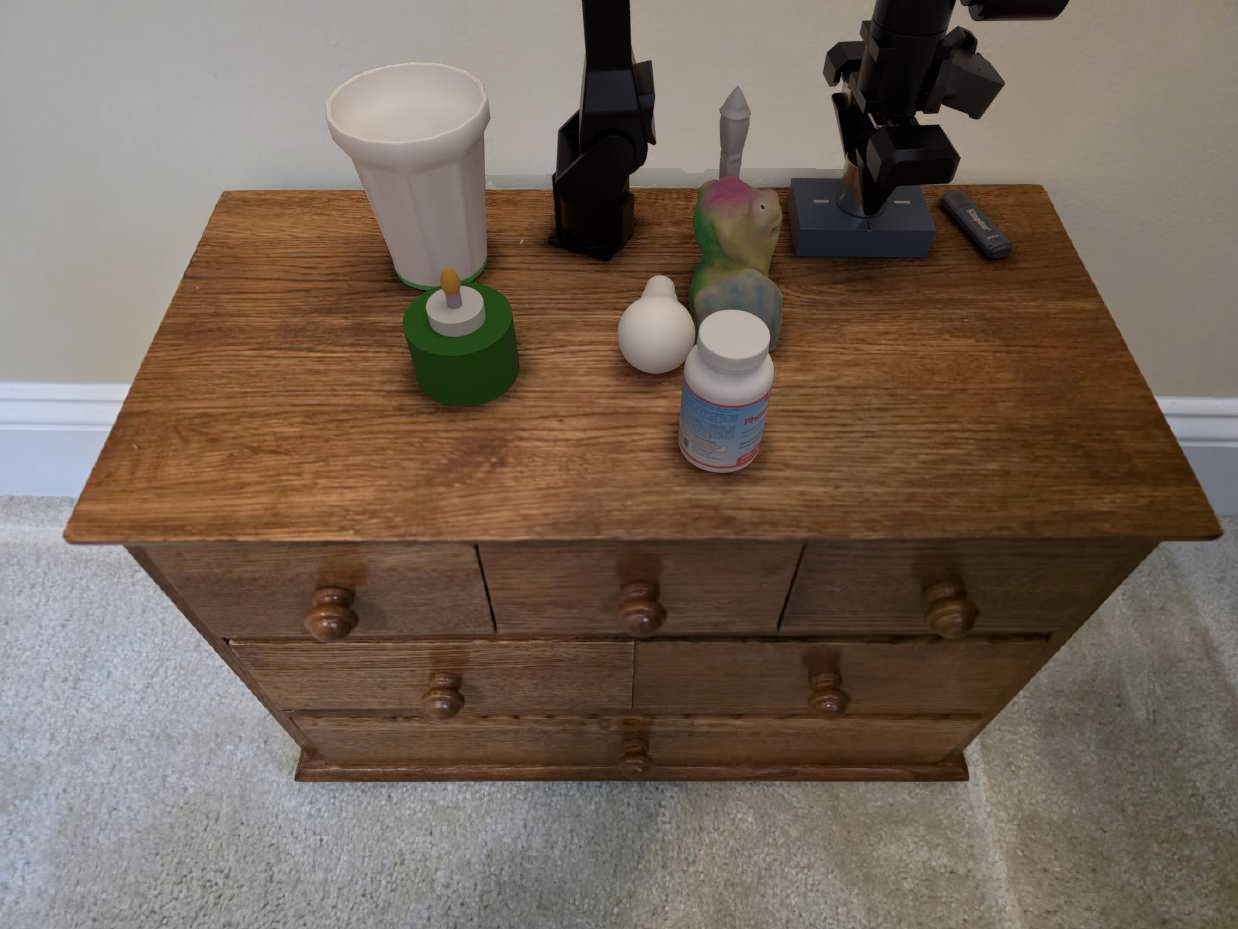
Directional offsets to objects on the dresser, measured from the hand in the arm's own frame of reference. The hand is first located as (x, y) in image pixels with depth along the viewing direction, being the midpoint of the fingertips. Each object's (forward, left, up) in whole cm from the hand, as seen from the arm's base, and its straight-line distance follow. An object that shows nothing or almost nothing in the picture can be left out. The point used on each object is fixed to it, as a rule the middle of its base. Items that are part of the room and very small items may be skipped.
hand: (862, 198), depth 74 cm
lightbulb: (-13, -17, -2) cm, 21 cm away
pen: (-11, -5, -4) cm, 13 cm away
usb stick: (+10, +5, -4) cm, 12 cm away
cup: (-33, -21, -4) cm, 39 cm away
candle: (-23, -31, -4) cm, 39 cm away
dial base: (0, 0, -4) cm, 4 cm away
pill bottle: (-2, -30, -4) cm, 30 cm away
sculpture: (-7, -15, -4) cm, 17 cm away
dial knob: (0, 0, 0) cm, 0 cm away
